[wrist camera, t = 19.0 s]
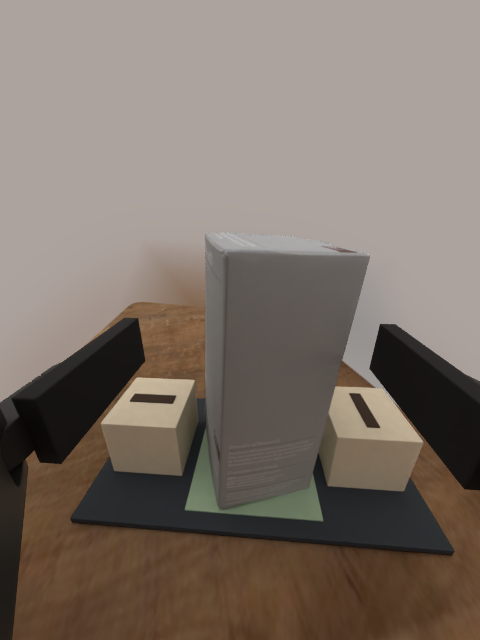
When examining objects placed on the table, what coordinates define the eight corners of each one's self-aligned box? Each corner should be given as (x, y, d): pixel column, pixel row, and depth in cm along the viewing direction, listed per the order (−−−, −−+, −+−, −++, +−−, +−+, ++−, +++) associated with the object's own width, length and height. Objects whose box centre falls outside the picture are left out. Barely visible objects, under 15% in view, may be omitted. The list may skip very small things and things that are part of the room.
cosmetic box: (204, 416, 22) (191, 232, 16) (277, 404, 23) (291, 231, 17) (216, 522, 14) (199, 240, 8) (325, 494, 15) (379, 238, 9)
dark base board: (71, 522, 14) (46, 465, 13) (148, 399, 25) (141, 357, 23) (452, 555, 13) (489, 496, 11) (367, 409, 23) (378, 366, 21)
